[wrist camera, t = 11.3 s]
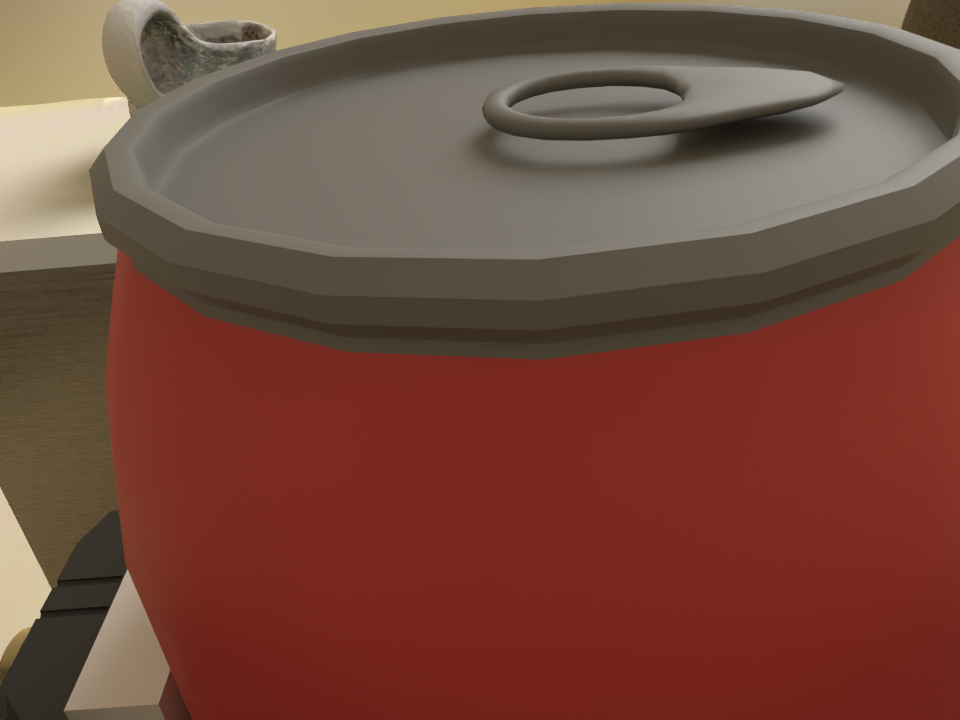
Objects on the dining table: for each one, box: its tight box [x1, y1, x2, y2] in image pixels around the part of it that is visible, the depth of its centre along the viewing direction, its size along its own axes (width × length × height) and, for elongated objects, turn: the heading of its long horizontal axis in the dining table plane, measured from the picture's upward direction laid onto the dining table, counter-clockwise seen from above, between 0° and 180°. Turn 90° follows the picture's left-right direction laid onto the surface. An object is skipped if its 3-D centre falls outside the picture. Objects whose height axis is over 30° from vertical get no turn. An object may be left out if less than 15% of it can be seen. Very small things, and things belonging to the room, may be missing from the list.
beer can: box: [89, 3, 960, 720], centre depth 9 cm, size 7×7×12 cm
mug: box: [102, 0, 277, 117], centre depth 49 cm, size 10×12×10 cm
